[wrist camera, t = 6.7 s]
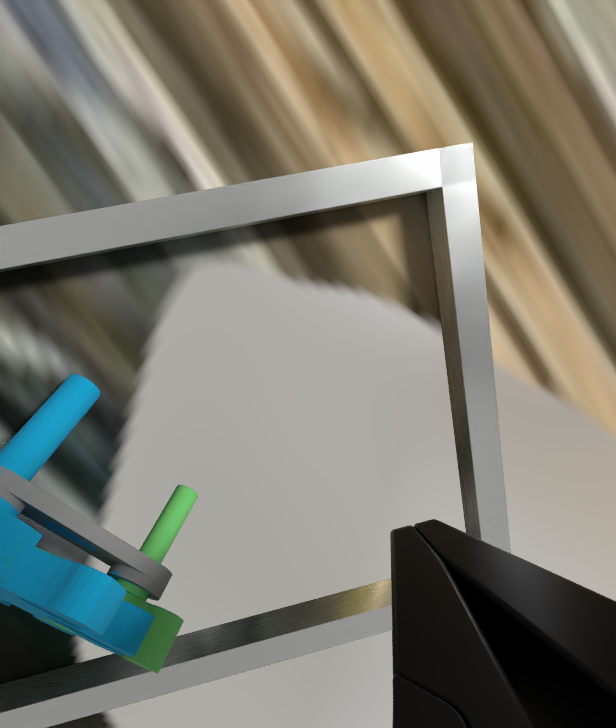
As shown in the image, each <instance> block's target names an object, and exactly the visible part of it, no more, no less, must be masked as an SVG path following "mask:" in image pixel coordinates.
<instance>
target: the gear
mask: <svg viewBox="0 0 616 728" xmlns="http://www.w3.org/2000/svg"><path fill="white" fill-rule="evenodd" d="M100 394H101V393H100V391H99V389H98V388H97V387H96V386H95V385H94V384H93V383H92V382H91V381H89V380H88V379H86V378H84V377H82V376H80V375H76V374H71V375H70V376H69V377H68V378H67V379H66V380H65V381H64V382H63V383H62V384H61V386H60V387H59V388H58V389H57V390H56V391H55V392H54V393H53V394H52V395H51V396H50V398H49V399H48V400H47V401H46V402H45V403H44V404H43V405H42V406H41V407H40V409H39V410H38V411H37V412H36V413H35V414H34V415H33V416H32V417H31V418H30V419H29V421H28V422H27V423H26V424H25V425H24V426H23V427H22V428H21V429H20V430H19V432H18V433H17V434H16V435H15V436H14V437H13V438H12V439H11V440H10V441H9V442H8V444H7V445H6V446H5V447H4V448H3V449H2V450H1V451H0V602H1V603H3V604H5V605H7V606H10V605H11V604H13V605H15V606H17V607H19V608H21V609H23V610H25V611H27V612H29V613H31V614H33V617H35V618H37V619H38V620H40V621H42V622H44V623H46V624H48V625H51V626H53V627H55V628H57V629H59V630H61V631H63V632H66V633H68V634H70V635H72V636H75V634H76V635H78V636H80V637H82V638H83V639H85V640H87V641H89V642H91V643H93V644H95V645H97V646H100V647H102V648H104V649H106V650H109V651H111V652H113V653H116V654H118V655H121V656H122V655H123V656H122V657H124V658H125V659H127V660H129V661H131V662H133V663H135V664H137V665H139V666H141V667H143V668H146V669H148V670H150V671H152V672H155V673H157V674H158V673H159V671H160V669H161V667H162V665H163V663H164V661H165V658H166V656H167V654H168V652H169V650H170V648H171V646H172V644H173V642H174V640H175V638H176V635H177V633H178V631H179V629H180V627H181V625H182V623H183V619H181V618H180V617H178V616H177V615H175V614H174V613H172V612H170V611H167V610H165V609H163V608H161V607H158V606H156V605H152V604H150V603H148V602H146V600H147V598H149V599H152V600H159V599H160V597H161V595H162V593H163V591H164V589H165V588H166V586H167V584H168V582H169V580H170V578H171V576H172V573H171V572H170V571H169V570H168V569H167V568H165V567H164V566H163V565H161V562H162V561H163V559H164V557H165V555H166V553H167V551H168V550H169V548H170V546H171V544H172V542H173V541H174V539H175V537H176V535H177V533H178V531H179V530H180V528H181V526H182V524H183V522H184V520H185V519H186V517H187V515H188V513H189V511H190V510H191V508H192V506H193V504H194V502H195V500H196V499H197V497H198V495H197V493H196V492H195V491H193V490H192V489H190V488H188V487H186V486H183V485H178V486H177V487H176V489H175V491H174V493H173V494H172V496H171V498H170V499H169V501H168V503H167V504H166V506H165V508H164V509H163V511H162V513H161V515H160V516H159V518H158V520H157V521H156V523H155V525H154V527H153V528H152V530H151V532H150V533H149V535H148V537H147V538H146V540H145V542H144V543H143V545H142V547H141V548H140V550H137V549H135V548H134V547H132V546H131V545H129V544H128V543H126V542H125V541H123V540H121V539H120V538H118V537H117V536H115V535H113V534H112V533H110V532H109V531H107V530H105V529H104V528H102V527H101V526H99V525H97V524H96V523H94V522H93V521H91V520H89V519H88V518H86V517H85V516H83V515H81V514H80V513H78V512H77V511H75V510H73V509H72V508H70V507H69V506H67V505H65V504H64V503H62V502H61V501H59V500H57V499H56V498H54V497H53V496H51V495H49V494H48V493H46V492H45V491H43V490H41V489H40V488H38V487H37V486H35V485H33V484H32V483H30V482H29V481H30V480H31V479H32V478H33V477H34V475H35V474H36V473H37V472H38V471H39V469H40V468H41V467H42V466H43V465H44V463H45V462H46V461H47V460H48V458H49V457H50V456H51V455H52V454H53V452H54V451H55V450H56V449H57V448H58V446H59V445H60V444H61V443H62V441H63V440H64V439H65V438H66V437H67V435H68V434H69V433H70V432H71V431H72V429H73V428H74V427H75V426H76V425H77V423H78V422H79V421H80V420H81V418H82V417H83V416H84V415H85V414H86V412H87V411H88V410H89V409H90V408H91V406H92V405H93V404H94V403H95V402H96V400H97V399H98V398H99V397H100ZM20 513H21V514H23V515H25V516H26V517H28V518H30V519H31V520H33V521H35V522H36V523H38V524H40V525H42V526H43V527H45V528H47V529H48V530H50V531H52V532H53V533H55V534H57V535H58V536H60V537H62V538H63V539H65V540H67V541H69V542H70V543H72V544H74V545H75V546H77V547H79V548H80V549H82V550H84V551H85V552H87V553H89V554H91V555H92V556H94V557H96V558H97V559H99V560H101V561H102V562H104V563H106V564H107V565H109V566H111V567H110V569H109V571H108V572H107V575H106V574H105V573H102V572H100V571H98V570H96V569H94V568H91V567H89V566H86V565H83V564H80V563H76V562H73V561H70V560H67V559H64V558H61V557H59V556H56V555H54V554H51V553H49V552H47V551H44V550H42V549H40V548H37V547H35V545H36V544H37V543H38V541H39V540H40V539H41V537H42V536H43V535H41V534H40V533H39V532H37V531H36V530H35V529H33V528H32V527H30V526H29V525H27V524H26V523H25V522H23V521H21V520H20V519H18V518H17V516H18V515H19V514H20Z"/></svg>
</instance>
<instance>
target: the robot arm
mask: <svg viewBox="0 0 616 728" xmlns="http://www.w3.org/2000/svg"><path fill="white" fill-rule="evenodd" d="M391 590H392V646H393V728H616V601H613V600H612V599H609V598H607V597H605V596H603V595H600V594H598V593H596V592H594V591H592V590H590V589H587V588H585V587H583V586H581V585H578V584H576V583H574V582H572V581H570V580H567V579H565V578H563V577H561V576H559V575H556V574H554V573H552V572H550V571H548V570H545V569H543V568H541V567H539V566H537V565H534V564H532V563H530V562H528V561H526V560H524V559H522V558H519V557H517V556H515V555H512V554H511V553H508V552H506V551H504V550H502V549H500V548H497V547H495V546H493V545H491V544H489V543H486V542H484V541H482V540H480V539H478V538H475V537H473V536H471V535H469V534H467V533H464V532H462V531H460V530H458V529H456V528H453V527H451V526H449V525H447V524H445V523H442V522H440V521H438V520H435V519H433V520H428V521H425V522H421V523H417V524H415V525H414V527H413V526H406V527H402V528H398V529H394V530H392V531H391Z"/></svg>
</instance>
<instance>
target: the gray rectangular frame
mask: <svg viewBox="0 0 616 728" xmlns="http://www.w3.org/2000/svg"><path fill="white" fill-rule="evenodd" d="M422 193H426V201H427V209H428V217H429V226H430V234H431V242H432V251H433V259H434V268H435V276H436V284H437V293H438V301H439V309H440V318H441V326H442V335H443V342H444V351H445V360H446V368H447V376H448V385H449V393H450V400H451V410H452V418H453V427H454V434H455V443H456V452H457V460H458V469H459V477H460V485H461V494H462V502H463V510H464V519H465V527H466V533H467V534H469V535H471V536H473V537H475V538H478V539H480V540H482V541H484V542H486V543H489V544H491V545H493V546H495V547H497V548H500V549H502V550H504V551H506V552H508V553H511V550H510V539H509V529H508V517H507V507H506V496H505V485H504V475H503V465H502V454H501V443H500V432H499V422H498V411H497V401H496V390H495V379H494V368H493V357H492V347H491V336H490V325H489V315H488V304H487V293H486V283H485V272H484V261H483V251H482V240H481V229H480V219H479V208H478V197H477V187H476V176H475V165H474V155H473V144H472V142H471V143H466V144H460V145H455V146H449V147H443V148H438V149H432V150H426V151H421V152H415V153H410V154H404V155H398V156H393V157H387V158H381V159H376V160H370V161H365V162H359V163H353V164H348V165H342V166H336V167H331V168H325V169H320V170H314V171H308V172H303V173H297V174H291V175H286V176H280V177H275V178H269V179H263V180H258V181H252V182H246V183H241V184H235V185H229V186H224V187H218V188H213V189H207V190H201V191H196V192H190V193H184V194H179V195H173V196H168V197H162V198H156V199H151V200H145V201H139V202H134V203H128V204H123V205H117V206H111V207H106V208H100V209H94V210H89V211H83V212H78V213H72V214H66V215H61V216H55V217H49V218H44V219H38V220H33V221H27V222H21V223H16V224H10V225H4V226H0V272H5V271H10V270H15V269H21V268H26V267H31V266H37V265H42V264H47V263H53V262H58V261H63V260H69V259H74V258H80V257H85V256H90V255H96V254H101V253H106V252H112V251H117V250H122V249H128V248H133V247H138V246H144V245H149V244H154V243H160V242H165V241H170V240H176V239H181V238H186V237H192V236H197V235H202V234H208V233H213V232H219V231H224V230H229V229H235V228H240V227H245V226H251V225H256V224H261V223H267V222H272V221H277V220H283V219H288V218H293V217H299V216H304V215H309V214H315V213H320V212H325V211H331V210H336V209H341V208H347V207H352V206H358V205H363V204H368V203H374V202H379V201H384V200H390V199H395V198H400V197H406V196H411V195H416V194H422ZM390 630H392V590H391V579H388V580H384V581H380V582H377V583H373V584H369V585H365V586H362V587H358V588H355V589H351V590H347V591H343V592H340V593H336V594H332V595H329V596H325V597H321V598H318V599H314V600H310V601H307V602H303V603H299V604H296V605H292V606H288V607H284V608H281V609H277V610H273V611H269V612H266V613H262V614H258V615H255V616H251V617H247V618H244V619H240V620H236V621H233V622H229V623H225V624H221V625H218V626H214V627H210V628H207V629H203V630H199V631H196V632H192V633H188V634H184V635H181V636H177V637H176V638H175V640H174V642H173V644H172V646H171V648H170V650H169V652H168V654H167V656H166V658H165V661H164V663H163V665H162V667H161V669H160V671H159V673H158V674H157V673H155V672H152V671H150V670H148V669H146V668H143V667H141V666H139V665H137V664H135V663H133V662H131V661H129V660H127V659H125V658H124V657H122V656H123V655H122V656H121V655H118V654H116V653H114V654H111V655H107V656H103V657H100V658H96V659H92V660H88V661H85V662H81V663H77V664H74V665H70V666H66V667H63V668H59V669H55V670H51V671H48V672H44V673H40V674H37V675H33V676H29V677H26V678H22V679H18V680H15V681H11V682H7V683H3V684H0V728H47V727H50V726H54V725H57V724H61V723H64V722H68V721H71V720H75V719H78V718H82V717H86V716H89V715H93V714H96V713H100V712H103V711H107V710H110V709H114V708H117V707H121V706H125V705H128V704H132V703H135V702H139V701H142V700H146V699H149V698H153V697H156V696H160V695H164V694H167V693H171V692H174V691H177V690H181V689H185V688H188V687H192V686H195V685H199V684H203V683H206V682H210V681H213V680H217V679H220V678H224V677H227V676H231V675H234V674H238V673H242V672H245V671H249V670H252V669H256V668H259V667H263V666H266V665H270V664H273V663H277V662H280V661H284V660H288V659H291V658H294V657H298V656H302V655H305V654H309V653H312V652H316V651H319V650H323V649H327V648H330V647H334V646H337V645H341V644H344V643H348V642H351V641H355V640H359V639H362V638H365V637H369V636H373V635H376V634H380V633H383V632H387V631H390Z"/></svg>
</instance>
